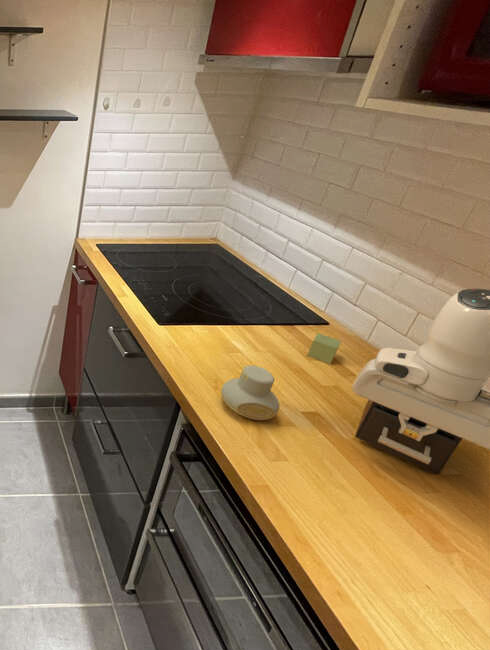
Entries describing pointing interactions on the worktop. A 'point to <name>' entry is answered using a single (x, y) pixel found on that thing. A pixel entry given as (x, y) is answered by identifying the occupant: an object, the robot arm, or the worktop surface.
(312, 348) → the block
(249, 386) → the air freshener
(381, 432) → the open nightstand drawer
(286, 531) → the worktop surface
